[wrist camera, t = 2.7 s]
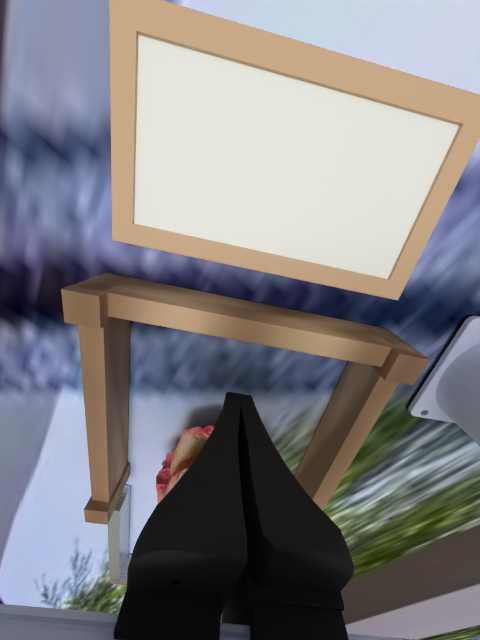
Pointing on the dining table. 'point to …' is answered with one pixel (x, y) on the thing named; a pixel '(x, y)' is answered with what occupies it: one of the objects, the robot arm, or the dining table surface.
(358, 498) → the dining table surface
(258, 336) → the wooden frame
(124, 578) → the stand tray
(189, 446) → the flower
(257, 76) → the frame lid
